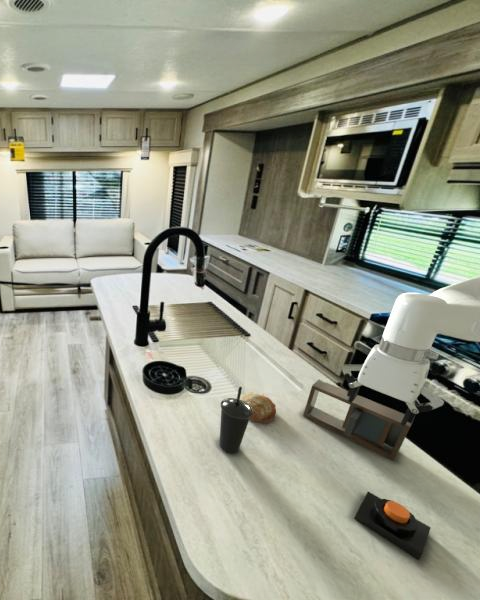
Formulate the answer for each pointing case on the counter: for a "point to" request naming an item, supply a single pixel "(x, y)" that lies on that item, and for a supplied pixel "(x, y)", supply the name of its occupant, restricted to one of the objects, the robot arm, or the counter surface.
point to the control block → (393, 526)
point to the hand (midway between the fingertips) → (376, 410)
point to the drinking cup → (233, 422)
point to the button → (396, 512)
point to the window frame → (335, 424)
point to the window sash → (366, 425)
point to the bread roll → (260, 407)
